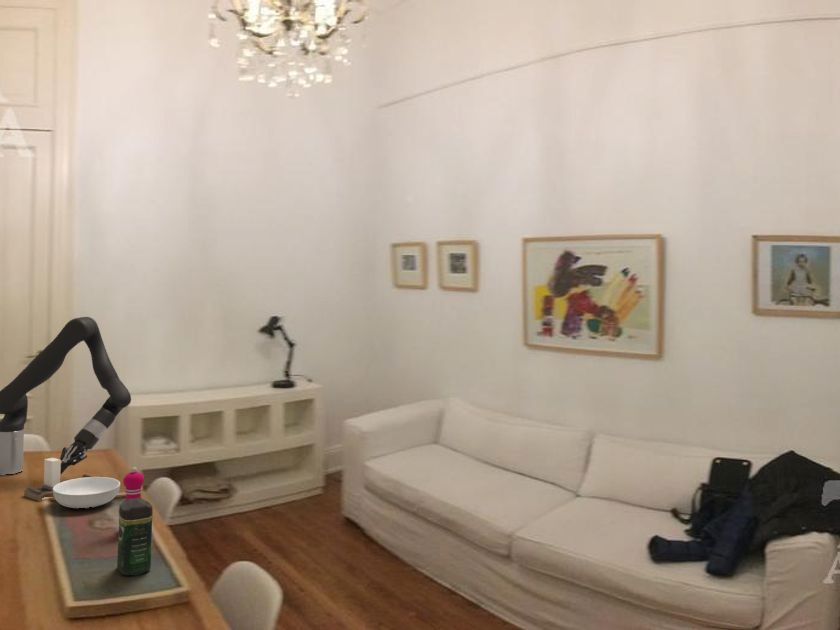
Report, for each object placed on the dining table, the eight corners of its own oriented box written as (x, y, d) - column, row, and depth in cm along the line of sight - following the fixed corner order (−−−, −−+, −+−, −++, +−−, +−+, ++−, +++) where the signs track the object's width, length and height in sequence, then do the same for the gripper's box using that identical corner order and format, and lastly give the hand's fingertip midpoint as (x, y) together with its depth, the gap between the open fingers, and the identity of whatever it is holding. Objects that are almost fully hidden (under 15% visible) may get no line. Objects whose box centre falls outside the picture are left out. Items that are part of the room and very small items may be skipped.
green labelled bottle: (154, 572, 170) (156, 503, 169) (122, 579, 165) (124, 508, 164) (145, 559, 177) (147, 493, 177) (114, 566, 173) (116, 498, 172)
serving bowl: (50, 518, 207) (50, 497, 206) (53, 498, 225) (54, 479, 225) (120, 510, 216) (121, 490, 216) (118, 492, 235) (119, 474, 235)
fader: (53, 484, 234) (54, 457, 233) (62, 487, 230) (63, 459, 230) (41, 487, 230) (41, 459, 229) (50, 490, 227) (51, 462, 226)
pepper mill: (135, 536, 194) (137, 471, 194) (114, 533, 195) (116, 469, 195) (149, 528, 201) (151, 465, 201) (129, 525, 203) (131, 463, 202)
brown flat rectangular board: (83, 482, 246) (83, 473, 246) (99, 486, 241) (99, 478, 240) (24, 496, 227) (24, 487, 227) (39, 501, 222) (39, 492, 222)
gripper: (74, 425, 243) (40, 464, 233) (94, 430, 236) (61, 470, 226) (86, 437, 248) (54, 475, 238) (107, 442, 241) (75, 481, 231)
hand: (57, 472), depth 232 cm, fingers closed
